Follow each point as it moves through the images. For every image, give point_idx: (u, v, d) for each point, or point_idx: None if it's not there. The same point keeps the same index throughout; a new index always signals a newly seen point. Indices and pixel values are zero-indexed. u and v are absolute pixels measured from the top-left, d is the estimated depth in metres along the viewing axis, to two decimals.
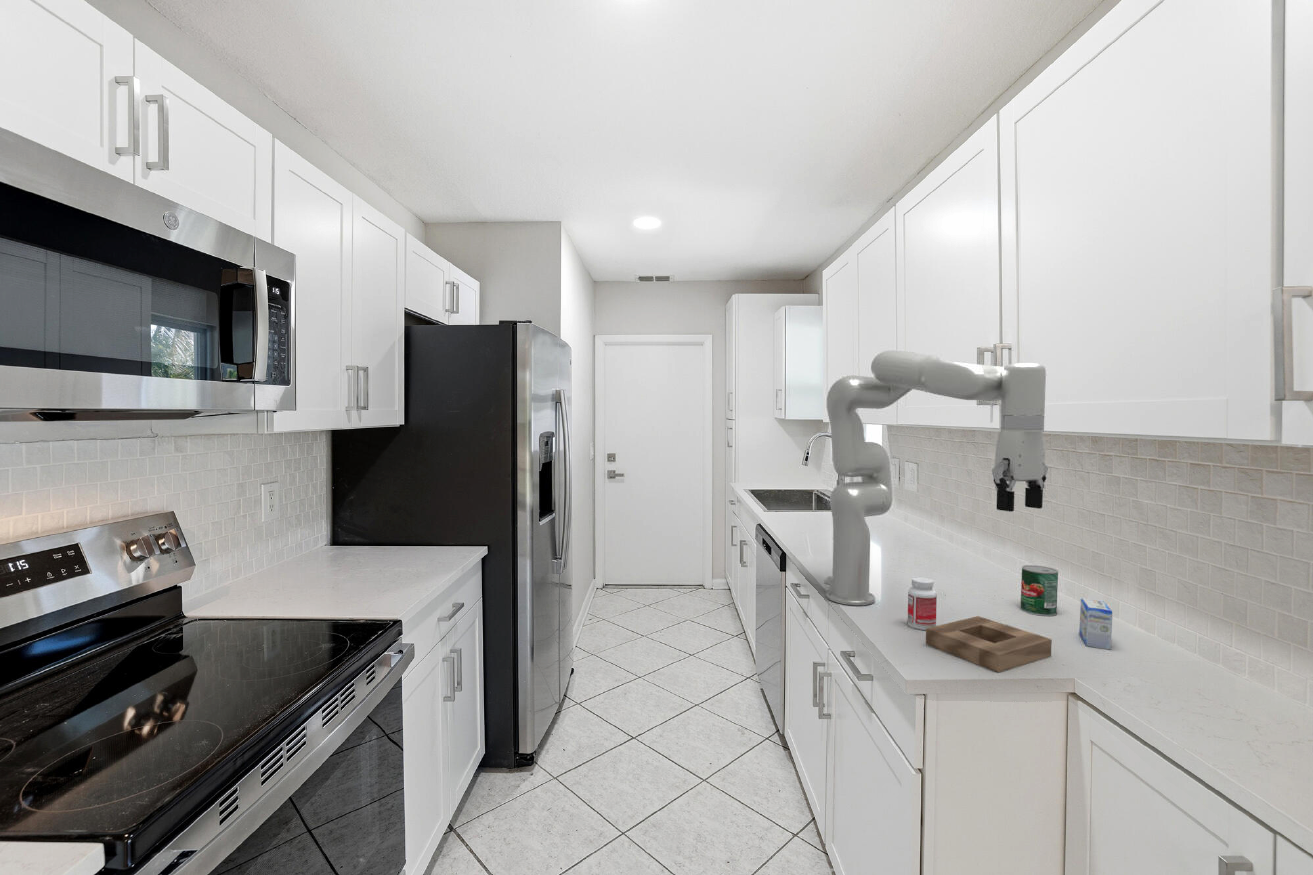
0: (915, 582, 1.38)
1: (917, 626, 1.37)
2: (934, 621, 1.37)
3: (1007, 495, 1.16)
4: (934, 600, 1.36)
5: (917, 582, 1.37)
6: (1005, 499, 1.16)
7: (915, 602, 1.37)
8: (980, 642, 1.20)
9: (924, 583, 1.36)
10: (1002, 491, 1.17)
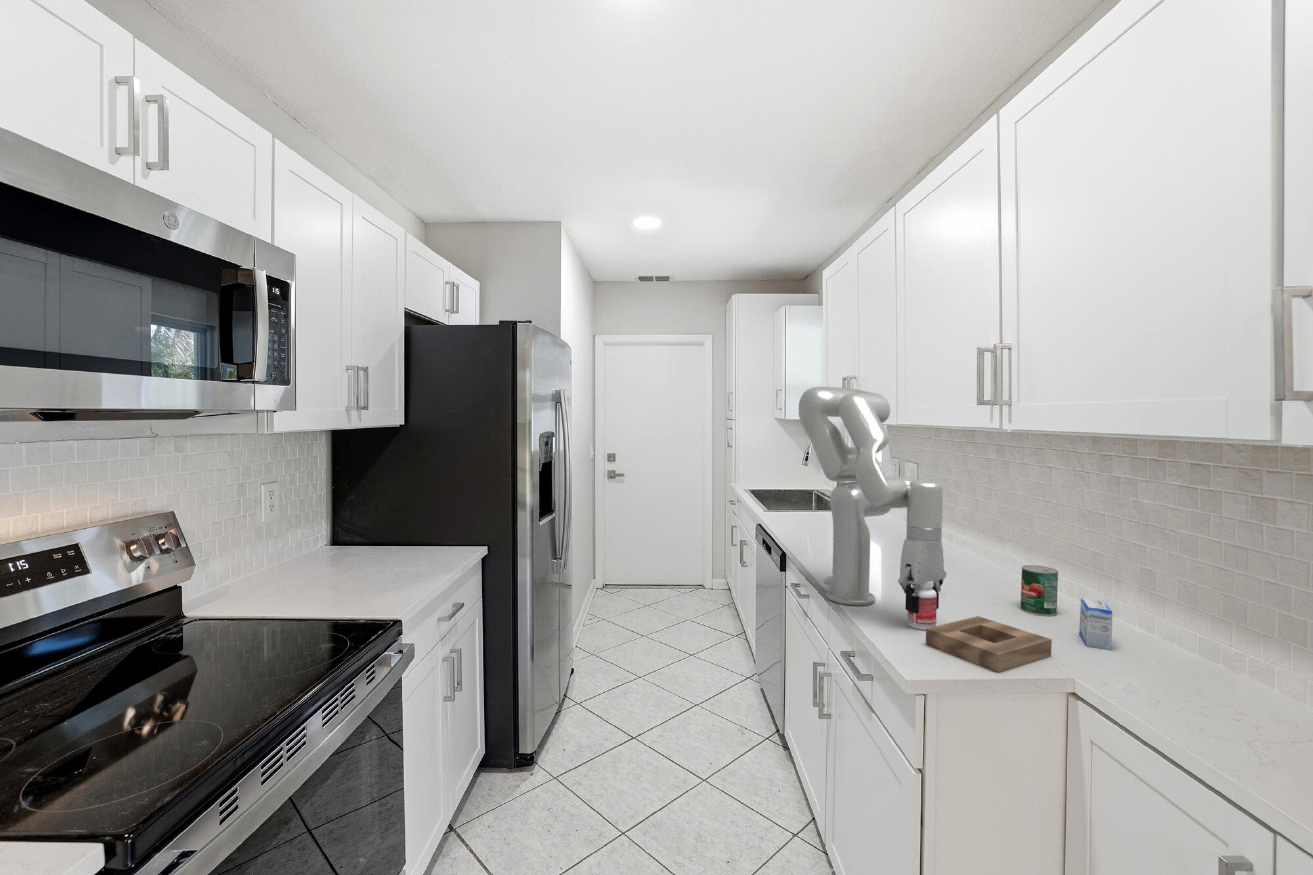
0: None
1: (917, 626, 1.37)
2: (934, 621, 1.37)
3: (913, 599, 1.36)
4: (934, 600, 1.36)
5: None
6: (911, 602, 1.36)
7: None
8: (980, 642, 1.20)
9: (924, 583, 1.36)
10: (909, 595, 1.37)
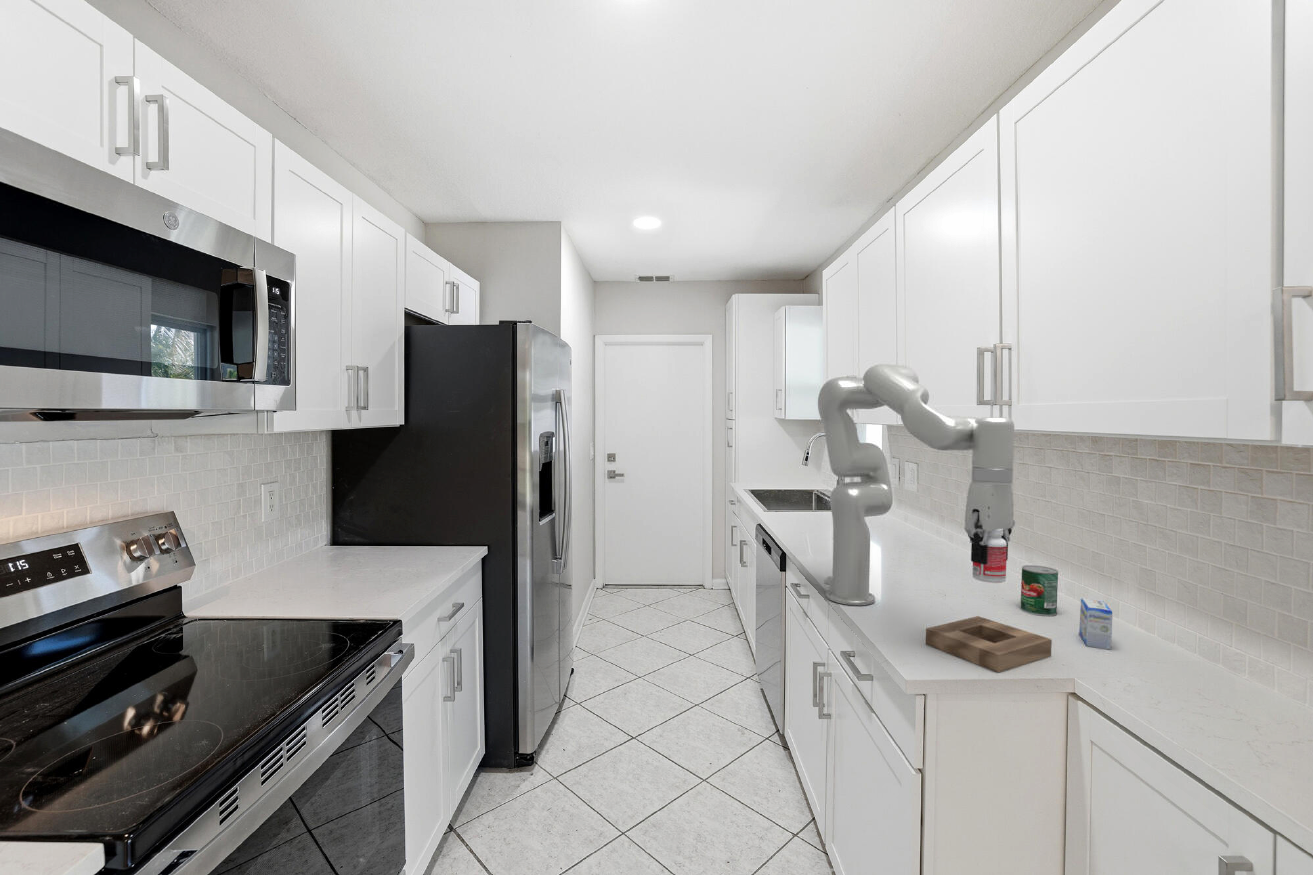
0: None
1: (985, 578, 1.22)
2: (1004, 573, 1.22)
3: (981, 549, 1.22)
4: (1004, 549, 1.22)
5: None
6: (979, 552, 1.22)
7: None
8: (980, 642, 1.20)
9: None
10: (976, 544, 1.22)
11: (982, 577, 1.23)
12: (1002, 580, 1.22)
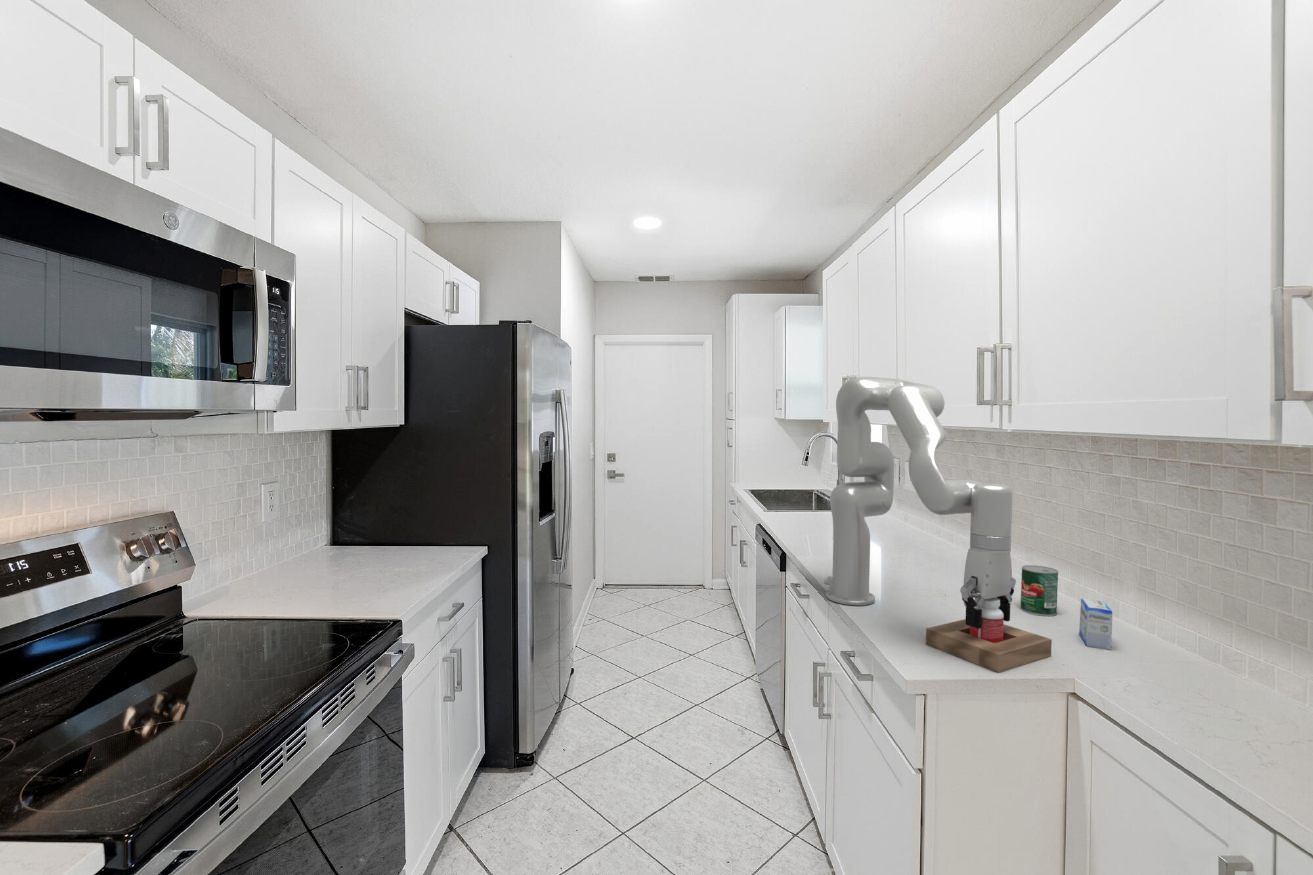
0: None
1: None
2: None
3: (975, 613, 1.21)
4: (1001, 621, 1.22)
5: None
6: (973, 616, 1.21)
7: None
8: (980, 642, 1.20)
9: (990, 602, 1.23)
10: (970, 608, 1.22)
11: None
12: None
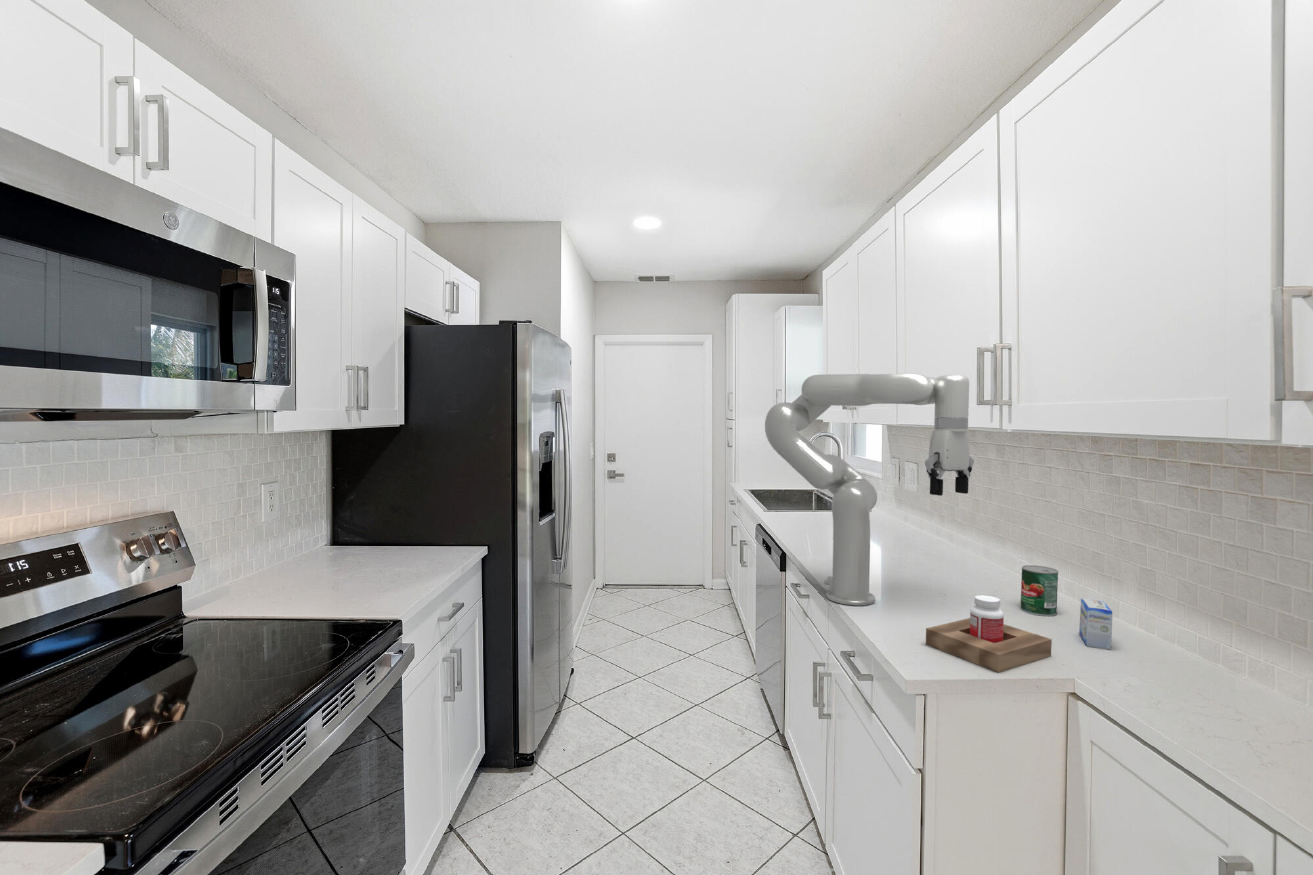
0: (979, 601, 1.24)
1: None
2: None
3: (937, 482, 1.43)
4: (1001, 621, 1.22)
5: (982, 601, 1.23)
6: (936, 485, 1.44)
7: (979, 623, 1.23)
8: (980, 642, 1.20)
9: (990, 602, 1.23)
10: (933, 479, 1.44)
11: None
12: None
